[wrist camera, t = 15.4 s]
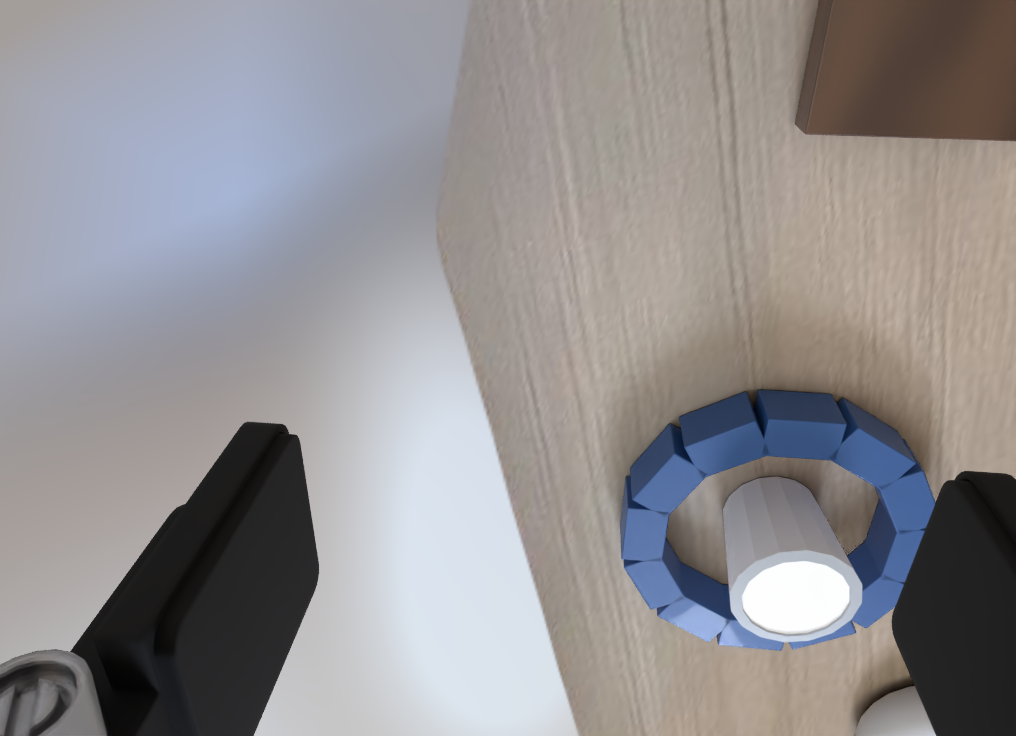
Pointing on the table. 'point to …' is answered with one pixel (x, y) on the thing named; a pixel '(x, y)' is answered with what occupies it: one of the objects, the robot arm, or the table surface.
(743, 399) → the ring
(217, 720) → the robot arm
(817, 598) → the white cylinder
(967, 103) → the platform
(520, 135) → the table surface
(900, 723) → the donut
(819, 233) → the table surface
